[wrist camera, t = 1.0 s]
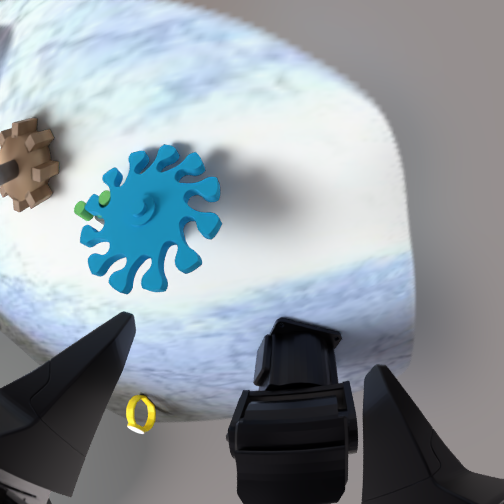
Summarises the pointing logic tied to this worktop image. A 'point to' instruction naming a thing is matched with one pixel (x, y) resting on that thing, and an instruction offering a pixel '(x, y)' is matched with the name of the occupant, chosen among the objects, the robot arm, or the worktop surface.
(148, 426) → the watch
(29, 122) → the gear
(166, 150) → the gear
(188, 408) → the worktop surface
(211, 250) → the worktop surface
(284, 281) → the worktop surface
